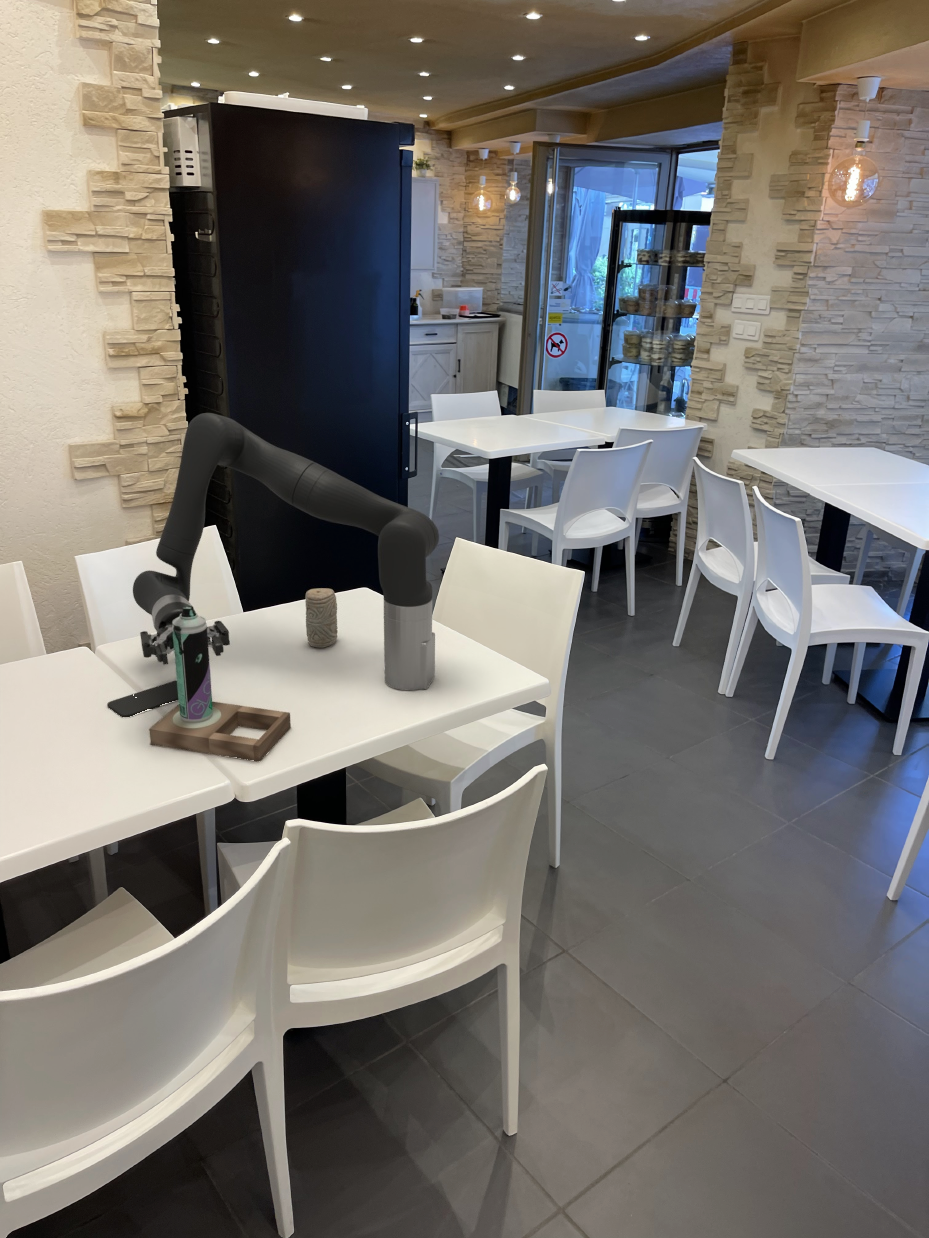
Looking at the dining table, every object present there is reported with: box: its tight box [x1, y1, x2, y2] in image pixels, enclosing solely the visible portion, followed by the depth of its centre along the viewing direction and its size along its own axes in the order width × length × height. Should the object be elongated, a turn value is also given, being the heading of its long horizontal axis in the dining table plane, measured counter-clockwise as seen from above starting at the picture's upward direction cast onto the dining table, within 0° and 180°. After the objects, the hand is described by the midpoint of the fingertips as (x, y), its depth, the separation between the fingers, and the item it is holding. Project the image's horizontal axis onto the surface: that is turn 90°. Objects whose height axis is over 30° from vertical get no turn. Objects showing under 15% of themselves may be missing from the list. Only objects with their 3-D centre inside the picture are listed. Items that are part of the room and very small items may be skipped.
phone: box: [106, 679, 179, 718], centre depth 167 cm, size 7×1×15 cm
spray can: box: [172, 605, 213, 723], centre depth 151 cm, size 6×6×20 cm
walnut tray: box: [148, 700, 292, 762], centre depth 154 cm, size 20×12×3 cm, turn 76°
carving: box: [304, 587, 338, 649], centre depth 190 cm, size 6×8×12 cm
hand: (192, 654), depth 148 cm, fingers open, 8 cm apart
